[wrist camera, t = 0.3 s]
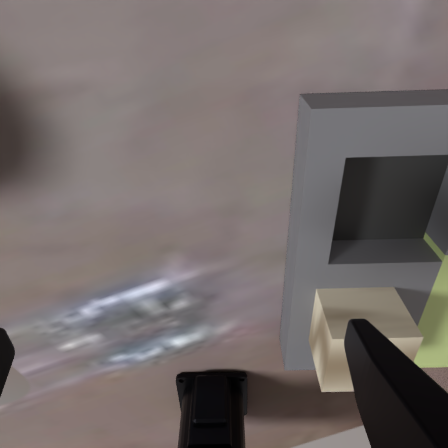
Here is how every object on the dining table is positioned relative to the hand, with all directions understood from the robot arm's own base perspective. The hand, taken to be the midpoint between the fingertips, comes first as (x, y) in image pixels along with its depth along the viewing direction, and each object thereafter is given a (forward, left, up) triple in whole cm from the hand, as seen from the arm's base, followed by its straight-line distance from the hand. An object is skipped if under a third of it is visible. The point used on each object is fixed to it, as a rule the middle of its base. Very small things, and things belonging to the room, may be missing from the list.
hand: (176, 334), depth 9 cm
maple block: (-11, -10, -11) cm, 18 cm away
